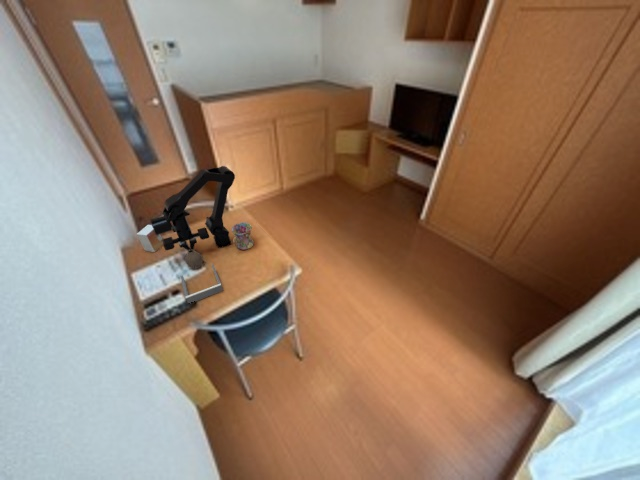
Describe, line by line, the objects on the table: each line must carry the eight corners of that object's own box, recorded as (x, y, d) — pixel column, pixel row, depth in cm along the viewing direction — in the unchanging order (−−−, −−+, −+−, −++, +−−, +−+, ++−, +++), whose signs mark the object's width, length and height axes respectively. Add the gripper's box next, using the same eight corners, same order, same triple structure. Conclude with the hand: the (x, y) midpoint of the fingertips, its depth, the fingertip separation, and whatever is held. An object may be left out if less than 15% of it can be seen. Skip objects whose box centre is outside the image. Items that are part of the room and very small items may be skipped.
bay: (215, 270, 120) (213, 264, 117) (223, 290, 111) (221, 284, 108) (183, 281, 114) (180, 275, 112) (188, 304, 105) (185, 298, 103)
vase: (207, 262, 124) (202, 248, 118) (197, 272, 119) (191, 258, 113) (195, 258, 126) (189, 244, 120) (184, 268, 120) (178, 254, 115)
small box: (155, 252, 129) (146, 235, 122) (145, 251, 130) (135, 234, 123) (165, 242, 135) (157, 225, 128) (156, 240, 136) (147, 224, 129)
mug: (242, 237, 138) (239, 220, 132) (258, 241, 136) (255, 224, 129) (228, 252, 129) (223, 234, 123) (245, 256, 127) (241, 239, 120)
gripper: (200, 211, 125) (208, 237, 135) (156, 222, 118) (168, 249, 128) (204, 223, 118) (213, 249, 128) (158, 235, 111) (171, 263, 120)
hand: (192, 252), depth 126 cm, fingers closed
